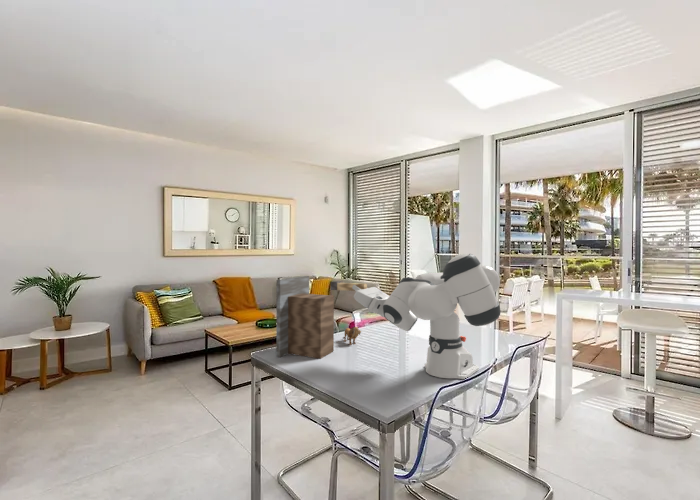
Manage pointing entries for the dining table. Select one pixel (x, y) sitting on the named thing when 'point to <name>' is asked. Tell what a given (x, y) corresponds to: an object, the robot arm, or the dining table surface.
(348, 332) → the lion figurine
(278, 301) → the brown tall block
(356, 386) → the dining table surface
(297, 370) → the dining table surface
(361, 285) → the light wooden bar
